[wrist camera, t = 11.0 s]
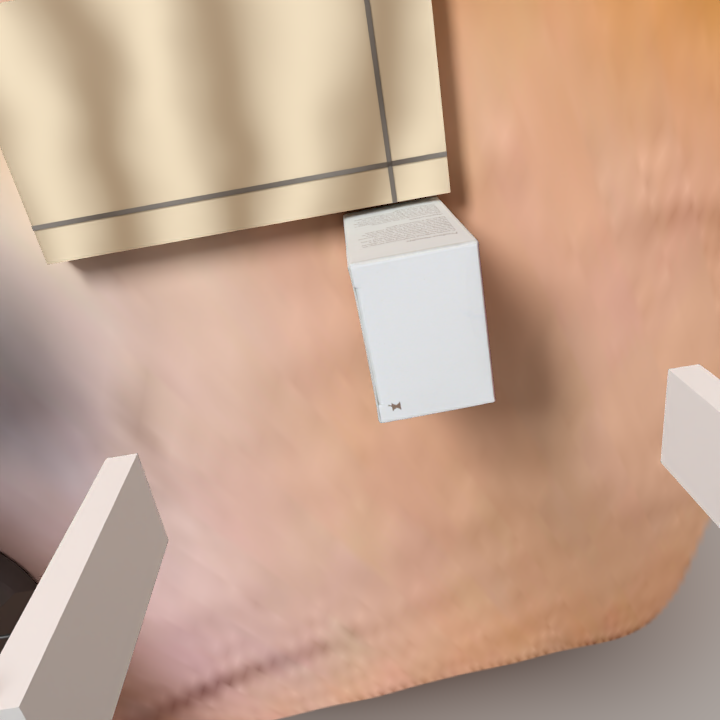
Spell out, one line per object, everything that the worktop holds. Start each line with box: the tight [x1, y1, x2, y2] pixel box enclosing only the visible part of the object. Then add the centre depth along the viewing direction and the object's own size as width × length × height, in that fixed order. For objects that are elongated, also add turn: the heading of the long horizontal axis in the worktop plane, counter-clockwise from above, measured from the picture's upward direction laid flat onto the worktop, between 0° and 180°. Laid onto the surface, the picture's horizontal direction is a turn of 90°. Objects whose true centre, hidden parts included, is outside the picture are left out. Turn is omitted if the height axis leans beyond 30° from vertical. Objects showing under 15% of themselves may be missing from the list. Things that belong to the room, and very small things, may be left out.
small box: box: [343, 196, 496, 423], centre depth 31 cm, size 8×6×10 cm
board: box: [0, 0, 450, 265], centre depth 31 cm, size 22×12×2 cm, turn 100°
